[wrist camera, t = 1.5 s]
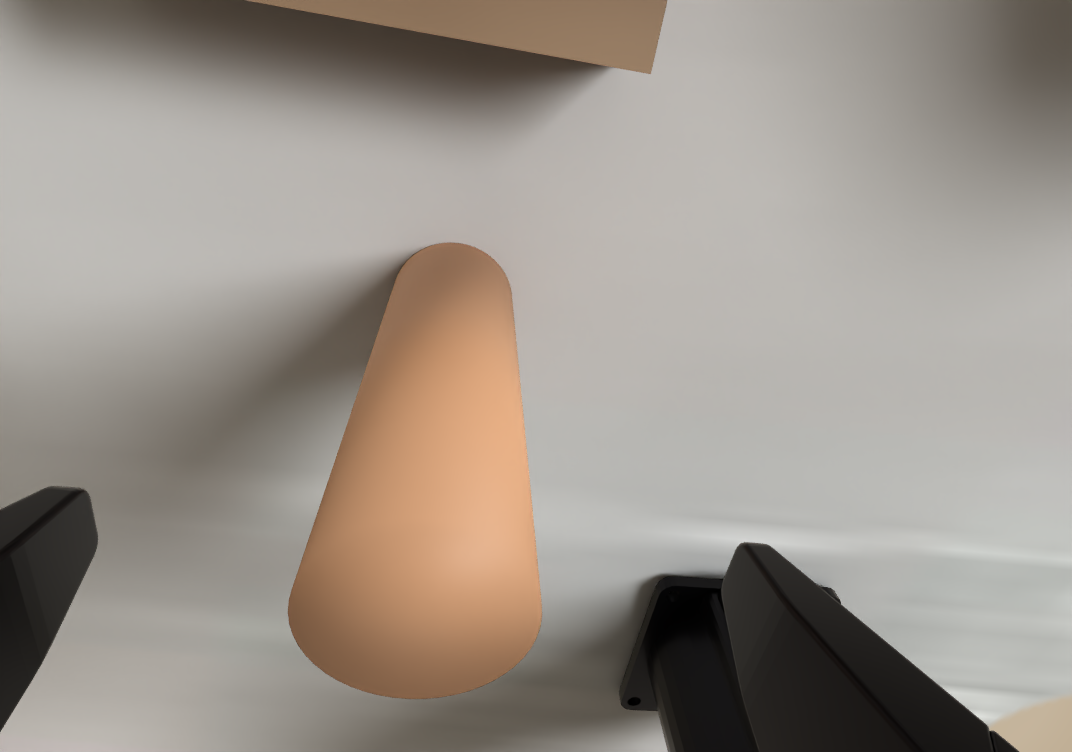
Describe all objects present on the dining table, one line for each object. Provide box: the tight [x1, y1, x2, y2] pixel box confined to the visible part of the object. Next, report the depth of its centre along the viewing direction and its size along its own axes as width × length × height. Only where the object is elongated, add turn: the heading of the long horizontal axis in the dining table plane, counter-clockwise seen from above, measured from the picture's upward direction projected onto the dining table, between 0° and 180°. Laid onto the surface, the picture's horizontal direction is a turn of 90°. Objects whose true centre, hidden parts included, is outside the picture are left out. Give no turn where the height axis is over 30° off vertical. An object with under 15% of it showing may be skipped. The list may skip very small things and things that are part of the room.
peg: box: [288, 243, 542, 699], centre depth 12 cm, size 3×3×10 cm
